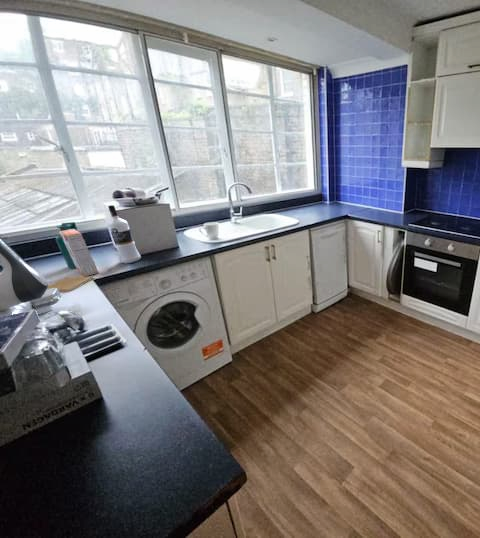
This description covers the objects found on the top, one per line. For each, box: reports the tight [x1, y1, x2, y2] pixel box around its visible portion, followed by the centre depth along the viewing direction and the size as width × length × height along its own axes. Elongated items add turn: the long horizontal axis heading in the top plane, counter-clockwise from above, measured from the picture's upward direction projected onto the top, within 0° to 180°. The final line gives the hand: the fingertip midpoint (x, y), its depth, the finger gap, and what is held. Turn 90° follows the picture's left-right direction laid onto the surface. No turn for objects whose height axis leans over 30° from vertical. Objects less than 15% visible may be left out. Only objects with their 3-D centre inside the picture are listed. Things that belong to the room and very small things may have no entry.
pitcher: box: [55, 221, 78, 270], centre depth 151 cm, size 10×8×22 cm
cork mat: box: [47, 276, 94, 293], centre depth 132 cm, size 13×13×1 cm
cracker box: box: [58, 229, 99, 277], centre depth 142 cm, size 14×6×21 cm, turn 52°
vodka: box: [107, 204, 142, 264], centre depth 153 cm, size 9×9×30 cm
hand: (20, 296), depth 99 cm, fingers open, 8 cm apart
